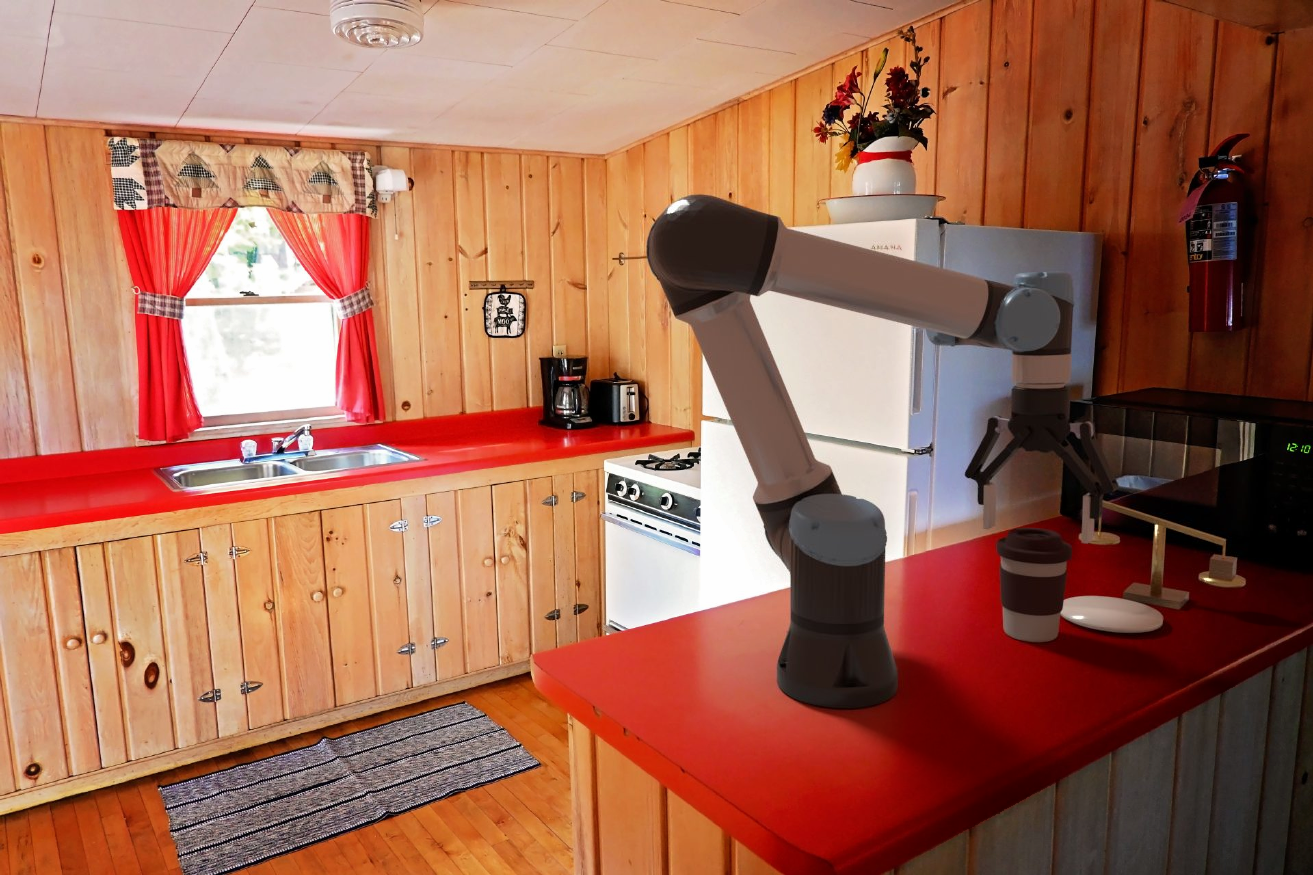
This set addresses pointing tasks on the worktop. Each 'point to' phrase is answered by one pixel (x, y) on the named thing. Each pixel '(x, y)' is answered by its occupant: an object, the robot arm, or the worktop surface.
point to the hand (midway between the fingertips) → (1036, 534)
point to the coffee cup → (1032, 582)
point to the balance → (1219, 569)
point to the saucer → (1111, 614)
